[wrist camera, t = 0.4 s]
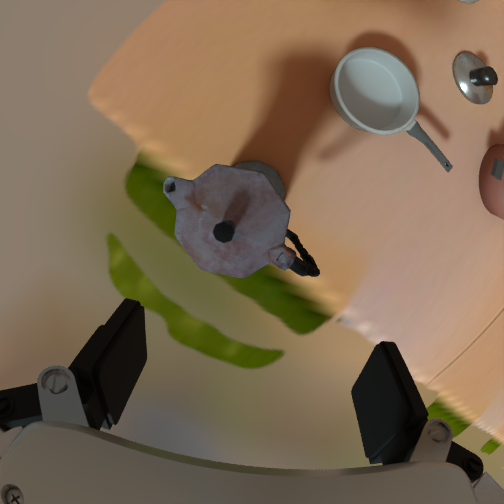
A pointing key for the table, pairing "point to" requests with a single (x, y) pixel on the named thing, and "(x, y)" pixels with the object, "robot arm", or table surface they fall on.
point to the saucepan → (379, 95)
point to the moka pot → (236, 220)
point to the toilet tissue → (469, 1)
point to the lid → (474, 78)
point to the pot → (493, 180)
